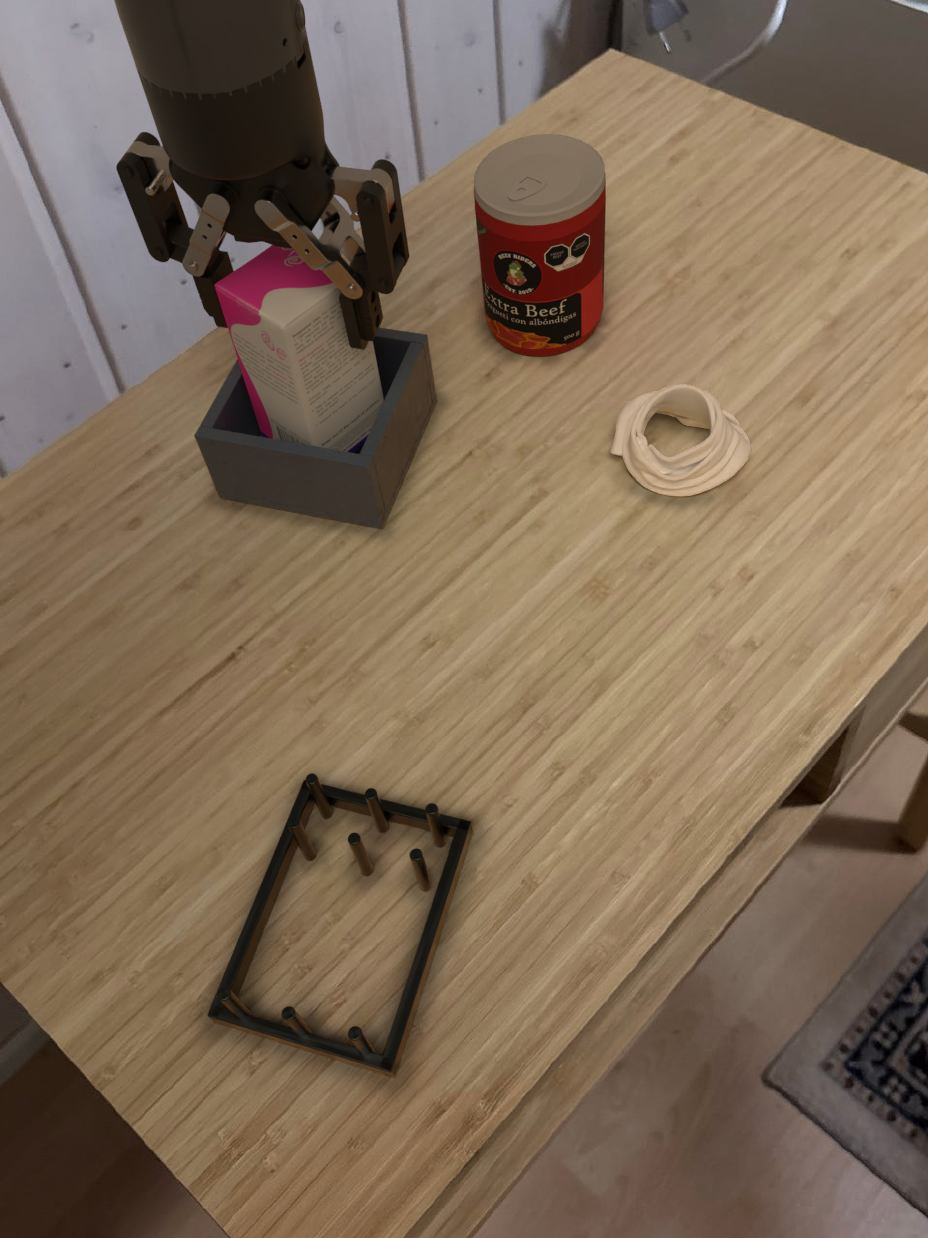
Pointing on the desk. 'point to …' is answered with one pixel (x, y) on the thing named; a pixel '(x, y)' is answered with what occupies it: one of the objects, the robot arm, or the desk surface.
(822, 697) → the desk surface
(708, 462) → the cream coiled cloth
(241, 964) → the dish rack
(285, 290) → the supplement box
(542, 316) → the canned food
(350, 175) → the robot arm
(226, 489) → the dark grey storage bin
